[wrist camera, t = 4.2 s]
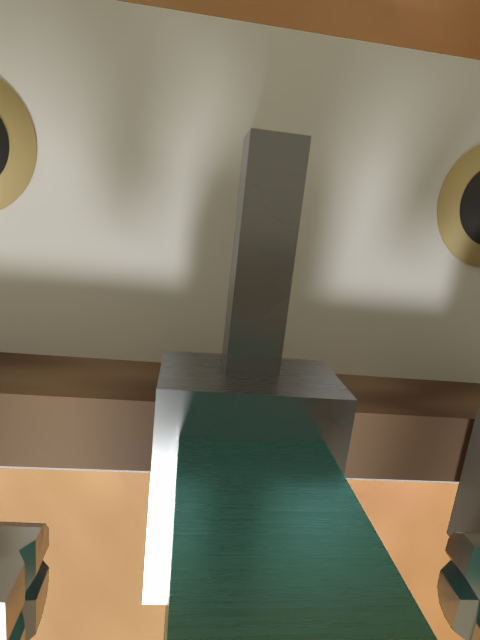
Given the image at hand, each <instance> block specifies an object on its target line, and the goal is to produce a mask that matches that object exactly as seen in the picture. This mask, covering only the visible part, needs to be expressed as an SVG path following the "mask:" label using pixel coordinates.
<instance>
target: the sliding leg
mask: <svg viewBox="0 0 480 640" xmlns="http://www.w3.org/2000/svg"><path fill="white" fill-rule="evenodd" d="M310 143H311V136H308V135H301V134H293V133H286V132H279V131H271V130H264V129H256V128H250V130H249V131H248V132H247V134H246V135H245V137H244V141H243V151H242V161H241V168H240V181H239V190H238V200H237V210H236V220H235V230H234V240H233V250H232V260H231V270H230V279H229V289H228V299H227V309H226V319H225V329H224V339H223V349H222V354H214V353H200V352H185V351H170V350H164V353H163V358H162V363H161V368H160V373H159V378H158V383H157V388H156V401H155V416H154V431H153V446H152V461H151V476H150V491H149V506H148V521H147V536H146V552H145V567H144V582H143V597H142V605H164V604H166V611H165V626H164V640H437V638H436V636H435V635H434V633H433V631H432V629H431V628H430V626H429V624H428V622H427V621H426V619H425V617H424V615H423V614H422V612H421V610H420V608H419V606H418V605H417V603H416V601H415V599H414V598H413V596H412V594H411V592H410V591H409V589H408V587H407V585H406V584H405V582H404V580H403V578H402V577H401V575H400V573H399V571H398V570H397V568H396V566H395V564H394V563H393V561H392V559H391V557H390V556H389V554H388V552H387V550H386V548H385V547H384V545H383V543H382V541H381V540H380V538H379V536H378V534H377V533H376V531H375V529H374V527H373V526H372V524H371V522H370V520H369V519H368V517H367V515H366V513H365V512H364V510H363V508H362V506H361V505H360V503H359V501H358V499H357V498H356V496H355V494H354V492H353V490H352V489H351V487H350V485H349V483H348V482H347V480H346V478H345V476H344V473H345V468H346V462H347V457H348V451H349V446H350V440H351V434H352V429H353V423H354V418H355V412H356V407H357V401H358V400H357V399H356V398H355V397H354V396H353V395H352V393H351V392H350V391H349V390H348V389H347V388H346V386H345V385H344V384H343V383H342V382H341V381H340V379H339V378H338V377H337V376H336V375H335V374H334V373H333V371H332V370H331V369H330V368H329V367H328V366H327V364H326V363H325V362H324V361H316V360H302V359H287V358H282V352H283V344H284V337H285V330H286V322H287V315H288V307H289V300H290V292H291V285H292V277H293V270H294V262H295V255H296V248H297V240H298V233H299V225H300V218H301V210H302V203H303V195H304V188H305V180H306V173H307V166H308V158H309V151H310Z"/></svg>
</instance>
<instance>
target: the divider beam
mask: <svg viewBox="0 0 480 640" xmlns="http://www.w3.org/2000/svg"><path fill="white" fill-rule="evenodd" d="M160 368H161V362H145V361H130V360H114V359H99V358H84V357H68V356H53V355H37V354H22V353H7V352H0V466H14V467H43V468H72V469H101V470H130V471H151V461H152V446H153V431H154V416H155V401H156V388H157V383H158V378H159V373H160ZM335 375H336V376H337V377H338V378H339V379H340V381H341V382H342V383H343V384H344V385H345V386H346V388H347V389H348V390H349V391H350V392H351V393H352V395H353V396H354V397H355V398H356V399H357V400H358V401H357V407H356V412H355V418H354V423H353V429H352V434H351V440H350V446H349V451H348V457H347V462H346V468H345V473H344V476H345V478H363V479H392V480H422V481H451V482H459V485H458V489H457V493H456V497H455V501H454V505H453V509H452V513H451V517H450V522H449V526H448V530H447V534H448V535H449V537H450V536H451V535H452V534H453V533H454V532H480V383H469V382H453V381H438V380H422V379H407V378H392V377H376V376H361V375H345V374H335Z"/></svg>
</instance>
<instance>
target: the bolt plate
mask: <svg viewBox="0 0 480 640" xmlns="http://www.w3.org/2000/svg"><path fill="white" fill-rule="evenodd" d="M250 128H256V129H264V130H271V131H279V132H286V133H293V134H301V135H308V136H311V143H310V151H309V158H308V166H307V173H306V180H305V188H304V195H303V203H302V210H301V218H300V225H299V233H298V240H297V248H296V255H295V262H294V270H293V277H292V285H291V292H290V300H289V307H288V315H287V322H286V330H285V337H284V344H283V352H282V358H287V359H302V360H316V361H324V362H325V363H326V364H327V366H328V367H329V368H330V369H331V370H332V371H333V373H334V374H345V375H361V376H376V377H392V378H407V379H422V380H438V381H453V382H469V383H480V60H477V59H471V58H465V57H459V56H452V55H446V54H440V53H434V52H428V51H422V50H416V49H410V48H404V47H398V46H392V45H386V44H380V43H373V42H367V41H361V40H355V39H349V38H343V37H337V36H331V35H325V34H319V33H313V32H307V31H301V30H294V29H288V28H282V27H276V26H270V25H264V24H258V23H252V22H246V21H240V20H234V19H228V18H222V17H215V16H209V15H203V14H197V13H191V12H185V11H179V10H173V9H167V8H161V7H155V6H149V5H143V4H136V3H130V2H124V1H118V0H0V352H7V353H22V354H37V355H53V356H68V357H84V358H99V359H114V360H130V361H145V362H161V363H162V358H163V353H164V350H170V351H185V352H200V353H214V354H222V349H223V339H224V329H225V319H226V309H227V299H228V289H229V279H230V270H231V260H232V250H233V240H234V230H235V220H236V210H237V200H238V190H239V181H240V168H241V161H242V151H243V141H244V137H245V135H246V134H247V132H248V131H249V130H250ZM0 468H20V469H50V470H79V471H109V472H138V473H151V471H130V470H101V469H72V468H43V467H14V466H0ZM346 480H375V481H404V482H434V483H459V482H451V481H422V480H392V479H363V478H346Z"/></svg>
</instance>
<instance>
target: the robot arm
mask: <svg viewBox="0 0 480 640" xmlns="http://www.w3.org/2000/svg"><path fill="white" fill-rule="evenodd" d="M48 546H49V528H48V526H47V525H46V524H43V523H20V522H0V640H30V639H31V638H32V637H33V636H34V635H35V634H36V632H37V629H38V626H39V623H40V621H41V618H42V614H43V610H44V606H45V601H46V597H47V590H48V582H49V567H48V566H47V565H46V564H45V562H44V561H43V558H44V556H45V553H46V551H47V549H48ZM445 551H446V553H447V554H448V556H449V558H450V561H449V562H448V563H447V564H446V565H445V566H444V567H443V568H442V569H441V570H440V575H439V580H438V585H437V589H438V597H439V604H440V606H441V609H442V612H443V614H444V617H445V618H446V620H447V622H448V623H449V625H450V627H451V628H452V630H453V631H455V632H456V633H457V634H458V635H460V636H461V637H462V638H464V639H465V640H480V532H454V533H453V534H452V535H451V536H450V537H449V539H448V542H447V546H446V550H445Z"/></svg>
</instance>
